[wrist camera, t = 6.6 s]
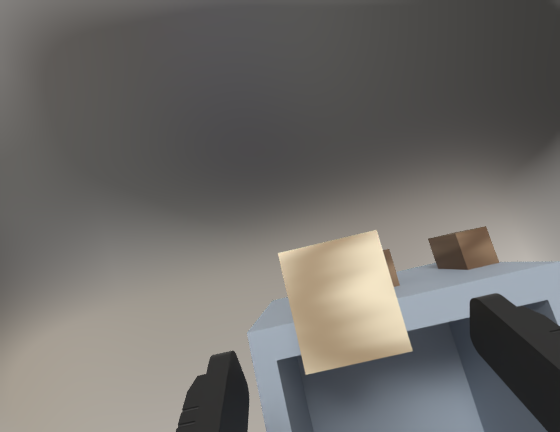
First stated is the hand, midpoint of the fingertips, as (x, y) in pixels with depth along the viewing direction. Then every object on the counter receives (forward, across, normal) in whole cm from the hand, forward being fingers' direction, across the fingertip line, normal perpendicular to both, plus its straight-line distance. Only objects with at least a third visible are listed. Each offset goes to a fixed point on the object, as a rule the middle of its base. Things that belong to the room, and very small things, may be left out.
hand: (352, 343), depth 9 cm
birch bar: (+9, 0, +6) cm, 11 cm away
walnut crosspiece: (+14, -9, +8) cm, 18 cm away
